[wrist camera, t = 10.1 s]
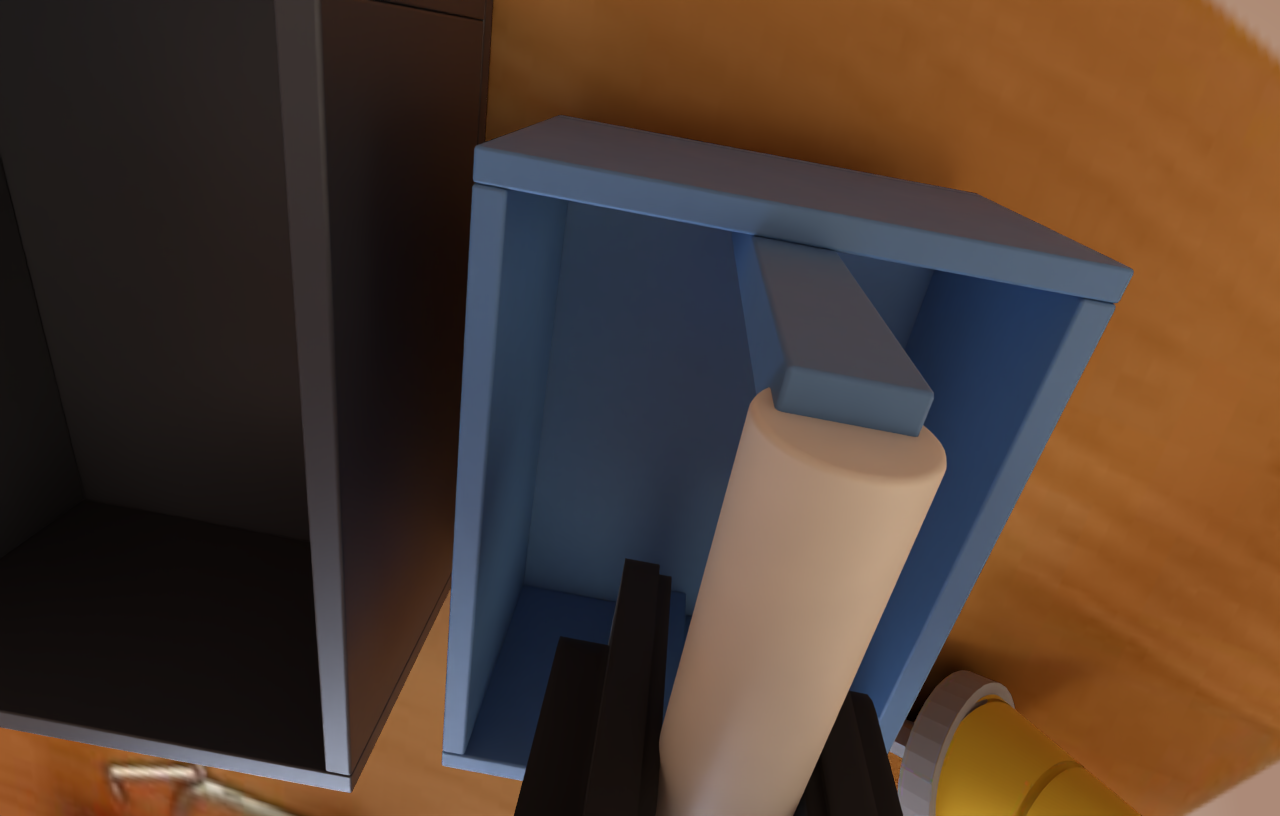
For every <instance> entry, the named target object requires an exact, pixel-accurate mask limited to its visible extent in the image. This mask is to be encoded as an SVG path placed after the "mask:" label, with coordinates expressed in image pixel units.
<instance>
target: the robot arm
mask: <svg viewBox="0 0 1280 816" xmlns="http://www.w3.org/2000/svg"><path fill="white" fill-rule="evenodd" d="M659 569H660V565H659V564H654V563H648V562H643V561H638V560H633V559H627V558H625V562H624V567H623V572H622V577H621V582H620V587H619V592H618V597H617V602H616V607H615V611H614V616H613V621H612V626H611V631H610V636H609V641H608V645H605V644H600V643H595V642H589V641H584V640H579V639H573V638H568V637H563V636H560V638H559V641H558V645H557V648H556V652H555V656H554V660H553V664H552V668H551V672H550V676H549V680H548V684H547V688H546V692H545V695H544V699H543V703H542V707H541V711H540V715H539V719H538V723H537V727H536V731H535V735H534V739H533V743H532V747H531V751H530V755H529V759H528V762H527V766H526V770H525V774H524V778H523V782H522V786H521V790H520V794H519V798H518V802H517V806H516V810H515V814H514V816H655V814H656V807H657V797H658V784H659V768H660V753H659V739H660V733H661V729H662V722H663V706H664V691H665V675H666V660H667V644H668V629H669V614H670V598H671V583H672V577H671V576H666V575H660V574H659ZM793 816H903V812H902V809H901V805H900V801H899V797H898V793H897V790H896V786H895V782H894V778H893V774H892V770H891V767H890V763H889V759H888V755H887V751H886V748H885V744H884V740H883V736H882V732H881V728H880V725H879V721H878V717H877V713H876V710H875V707H874V704H873V701H872V699H871V698H870V697H869V696H868V694H864V693H859V692H854V691H850V690H849V691H848V693H847V695H846V698H845V700H844V702H843V704H842V707H841V709H840V711H839V713H838V716H837V718H836V720H835V722H834V725H833V727H832V729H831V732H830V734H829V736H828V738H827V741H826V743H825V745H824V747H823V750H822V752H821V754H820V756H819V759H818V761H817V763H816V765H815V768H814V770H813V772H812V775H811V777H810V779H809V781H808V784H807V786H806V788H805V790H804V793H803V795H802V797H801V799H800V802H799V804H798V806H797V808H796V811H795V813H794V815H793Z"/></svg>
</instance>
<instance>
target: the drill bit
mask: <svg viewBox="0 0 1280 816" xmlns="http://www.w3.org/2000/svg"><path fill="white" fill-rule="evenodd" d="M890 752H892V753H894V754H896V755H898V756H899V757H901V758H903V759H902V763H901V768H900V775H899V782H898V797H899V801H900V805H901V809H902V812H903V816H1142V815H1140V814H1139V813H1138V812H1137V811H1136V810H1135V809H1133V808H1132V807H1131V806H1130V805H1129V804H1127V803H1126V802H1125V801H1124V800H1123V799H1121V798H1120V797H1119V796H1118V795H1117V794H1115V793H1114V792H1113V791H1112V790H1111V789H1109V788H1108V787H1107V786H1106V785H1105V784H1103V783H1102V782H1101V781H1100V780H1099V779H1098V778H1096V777H1095V776H1094V775H1093V774H1092V773H1090V772H1089V771H1088V770H1086V769H1085V768H1084V767H1083V766H1082V765H1081V764H1080V763H1078V762H1077V761H1076V760H1075V759H1074V758H1072V757H1071V756H1070V755H1069V754H1068V753H1066V752H1065V751H1064V750H1063V749H1062V748H1061V747H1059V746H1058V745H1057V744H1056V743H1055V742H1053V741H1052V740H1051V739H1050V738H1049V737H1047V736H1046V735H1045V734H1044V733H1043V732H1041V731H1040V730H1039V729H1038V728H1037V727H1035V726H1034V725H1033V724H1032V723H1031V722H1029V721H1028V720H1027V719H1026V718H1025V717H1024V716H1022V715H1021V714H1020V713H1019V712H1018V711H1016V710H1015V706H1014V702H1013V699H1012V697H1011V694H1010V693H1009V691H1008V690H1007V688H1006V687H1005V686H1003V685H1002V684H1000V683H998V682H996V681H993V680H990V679H988V678H985V677H983V676H980V675H978V674H975V673H973V672H970V671H965V670H960V671H957V672H953V673H952V674H950V675H949V676H947V677H946V678H944V679H943V680H942V681H941V682H940V683H939V684H938V685H937V686H936V687H935V689H934V690H933V691H932V693H931V694H930V696H929V697H928V698H927V700H926V702H925V703H924V705H923V707H922V709H921V710H920V712H919V714H918V716H917V718H916V721H915V723H914V722H911V721H909V720H906V719H905V721H904V723H903V725H902V727H901V729H900V731H899V733H898V735H897V737H896V739H895V741H894V743H893V745H892V747H891V749H890Z"/></svg>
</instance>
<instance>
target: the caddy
mask: <svg viewBox="0 0 1280 816" xmlns="http://www.w3.org/2000/svg"><path fill="white" fill-rule="evenodd" d="M473 180H474V182H476V183H475V184H474V185H473V187H472V204H471V223H470V242H469V261H468V279H467V298H466V317H465V336H464V355H463V374H462V392H461V411H460V430H459V449H458V468H457V486H456V505H455V524H454V543H453V562H452V580H451V599H450V618H449V637H448V656H447V675H446V693H445V712H444V731H443V751H442V765H443V766H447V767H452V768H457V769H463V770H468V771H473V772H478V773H484V774H489V775H494V776H500V777H505V778H510V779H516V780H521V781H523V778H524V774H525V770H526V766H527V762H528V759H529V755H530V751H531V747H532V743H533V739H534V735H535V731H536V727H537V723H538V719H539V715H540V711H541V707H542V703H543V699H544V695H545V692H546V688H547V684H548V680H549V676H550V672H551V668H552V664H553V660H554V656H555V652H556V648H557V645H558V641H559V638H560V636H563V637H568V638H573V639H579V640H584V641H589V642H595V643H600V644H605V645H608V641H609V636H610V631H611V626H612V621H613V616H614V611H615V607H616V602H617V597H618V592H619V587H620V582H621V577H622V572H623V567H624V562H625V558H627V559H633V560H638V561H643V562H648V563H654V564H659V565H660V569H659V574H660V575H666V576H671V577H672V583H671V598H670V614H669V629H668V644H667V660H666V675H665V691H664V706H663V722H662V729H661V733H660V739H659V753H660V768H659V784H658V797H657V807H656V814H655V816H793V815H794V813H795V811H796V808H797V806H798V804H799V802H800V799H801V797H802V795H803V793H804V790H805V788H806V786H807V784H808V781H809V779H810V777H811V775H812V772H813V770H814V768H815V765H816V763H817V761H818V759H819V756H820V754H821V752H822V750H823V747H824V745H825V743H826V741H827V738H828V736H829V734H830V732H831V729H832V727H833V725H834V722H835V720H836V718H837V716H838V713H839V711H840V709H841V707H842V704H843V702H844V700H845V698H846V695H847V693H848V691H849V690H850V691H854V692H859V693H864V694H868V696H869V697H870V698H871V699H872V701H873V704H874V707H875V710H876V713H877V717H878V721H879V725H880V728H881V732H882V736H883V740H884V744H885V748H886V751H887V755H888V753H889V751H890V749H891V747H892V745H893V743H894V741H895V739H896V737H897V735H898V733H899V731H900V729H901V727H902V725H903V723H904V721H905V719H906V717H907V715H908V713H909V711H910V710H911V708H912V706H913V704H914V702H915V700H916V698H917V696H918V694H919V692H920V690H921V688H922V686H923V684H924V682H925V680H926V678H927V676H928V674H929V672H930V670H931V668H932V666H933V665H934V663H935V661H936V659H937V657H938V655H939V653H940V651H941V649H942V647H943V645H944V643H945V641H946V639H947V637H948V635H949V633H950V631H951V629H952V627H953V625H954V623H955V621H956V620H957V618H958V616H959V614H960V612H961V610H962V608H963V606H964V604H965V602H966V600H967V598H968V596H969V594H970V592H971V590H972V588H973V586H974V584H975V582H976V580H977V578H978V576H979V575H980V573H981V571H982V569H983V567H984V565H985V563H986V561H987V559H988V557H989V555H990V553H991V551H992V549H993V547H994V545H995V543H996V541H997V539H998V537H999V535H1000V533H1001V531H1002V530H1003V528H1004V526H1005V524H1006V522H1007V520H1008V518H1009V516H1010V514H1011V512H1012V510H1013V508H1014V506H1015V504H1016V502H1017V500H1018V498H1019V496H1020V494H1021V492H1022V490H1023V488H1024V486H1025V484H1026V483H1027V481H1028V479H1029V477H1030V475H1031V473H1032V471H1033V469H1034V467H1035V465H1036V463H1037V461H1038V459H1039V457H1040V455H1041V453H1042V451H1043V449H1044V447H1045V445H1046V443H1047V441H1048V439H1049V438H1050V436H1051V434H1052V432H1053V430H1054V428H1055V426H1056V424H1057V422H1058V420H1059V418H1060V416H1061V414H1062V412H1063V410H1064V408H1065V406H1066V404H1067V402H1068V400H1069V398H1070V396H1071V394H1072V393H1073V391H1074V389H1075V387H1076V385H1077V383H1078V381H1079V379H1080V377H1081V375H1082V373H1083V371H1084V369H1085V367H1086V365H1087V363H1088V361H1089V359H1090V357H1091V355H1092V353H1093V351H1094V349H1095V348H1096V346H1097V344H1098V342H1099V340H1100V338H1101V336H1102V334H1103V332H1104V330H1105V328H1106V326H1107V324H1108V322H1109V320H1110V318H1111V316H1112V314H1113V312H1114V310H1115V305H1114V304H1113V303H1118V302H1119V301H1120V299H1121V297H1122V295H1123V293H1124V291H1125V289H1126V287H1127V285H1128V283H1129V281H1130V279H1131V277H1132V275H1133V272H1134V271H1133V269H1131V268H1130V267H1127V266H1125V265H1123V264H1121V263H1119V262H1117V261H1115V260H1113V259H1111V258H1109V257H1107V256H1105V255H1103V254H1101V253H1099V252H1096V251H1094V250H1092V249H1090V248H1088V247H1086V246H1084V245H1082V244H1080V243H1078V242H1076V241H1074V240H1072V239H1070V238H1067V237H1065V236H1063V235H1061V234H1059V233H1057V232H1055V231H1053V230H1051V229H1049V228H1047V227H1045V226H1043V225H1041V224H1039V223H1036V222H1034V221H1032V220H1030V219H1028V218H1026V217H1024V216H1022V215H1020V214H1018V213H1016V212H1014V211H1012V210H1010V209H1007V208H1005V207H1003V206H1001V205H999V204H997V203H995V202H993V201H991V200H989V199H987V198H985V197H983V196H981V195H978V194H976V193H972V192H966V191H961V190H956V189H950V188H945V187H940V186H934V185H929V184H924V183H919V182H913V181H908V180H903V179H897V178H892V177H887V176H882V175H876V174H871V173H866V172H860V171H855V170H850V169H845V168H839V167H834V166H829V165H823V164H818V163H813V162H807V161H802V160H797V159H792V158H786V157H781V156H776V155H770V154H765V153H760V152H755V151H749V150H744V149H739V148H733V147H728V146H723V145H718V144H712V143H707V142H702V141H696V140H691V139H686V138H680V137H675V136H670V135H665V134H659V133H654V132H649V131H643V130H638V129H633V128H628V127H622V126H617V125H612V124H606V123H601V122H596V121H591V120H585V119H580V118H575V117H569V116H564V115H558V116H556V117H553V118H550V119H547V120H545V121H542V122H539V123H537V124H534V125H531V126H528V127H526V128H523V129H520V130H517V131H515V132H512V133H509V134H506V135H504V136H501V137H498V138H496V139H493V140H490V141H487V142H485V143H482V144H479V145H476V146H475V149H474V165H473Z"/></svg>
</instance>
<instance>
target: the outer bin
mask: <svg viewBox="0 0 1280 816" xmlns="http://www.w3.org/2000/svg"><path fill="white" fill-rule="evenodd" d="M492 7H493V0H0V727H2V728H7V729H12V730H18V731H23V732H28V733H34V734H39V735H44V736H49V737H55V738H60V739H65V740H71V741H76V742H81V743H87V744H92V745H97V746H103V747H108V748H113V749H119V750H124V751H129V752H135V753H140V754H145V755H151V756H156V757H161V758H167V759H172V760H177V761H183V762H188V763H193V764H199V765H204V766H209V767H215V768H220V769H225V770H231V771H236V772H241V773H247V774H252V775H257V776H263V777H268V778H273V779H279V780H284V781H289V782H295V783H300V784H305V785H311V786H316V787H321V788H327V789H332V790H337V791H343V792H348V793H351V792H352V791H353V789H354V787H355V785H356V783H357V781H358V779H359V777H360V775H361V772H362V770H363V768H364V766H365V764H366V762H367V760H368V758H369V756H370V754H371V752H372V750H373V748H374V746H375V743H376V741H377V739H378V737H379V735H380V733H381V731H382V729H383V727H384V725H385V723H386V721H387V719H388V717H389V714H390V712H391V710H392V708H393V706H394V704H395V702H396V700H397V698H398V696H399V694H400V692H401V690H402V688H403V685H404V683H405V681H406V679H407V677H408V675H409V673H410V671H411V669H412V667H413V665H414V663H415V661H416V659H417V656H418V654H419V652H420V650H421V648H422V646H423V644H424V642H425V640H426V638H427V636H428V634H429V632H430V630H431V628H432V625H433V623H434V621H435V619H436V617H437V615H438V613H439V611H440V609H441V607H442V605H443V603H444V601H445V599H446V596H447V594H448V592H449V590H450V588H451V580H452V562H453V543H454V524H455V505H456V486H457V468H458V449H459V430H460V411H461V392H462V374H463V355H464V336H465V317H466V298H467V279H468V261H469V242H470V223H471V204H472V187H473V185H474V184H475V183H476V182H474V180H473V165H474V149H475V146H476V145H479V144H482V143H484V142H485V125H486V108H487V91H488V75H489V58H490V41H491V24H492Z"/></svg>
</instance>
